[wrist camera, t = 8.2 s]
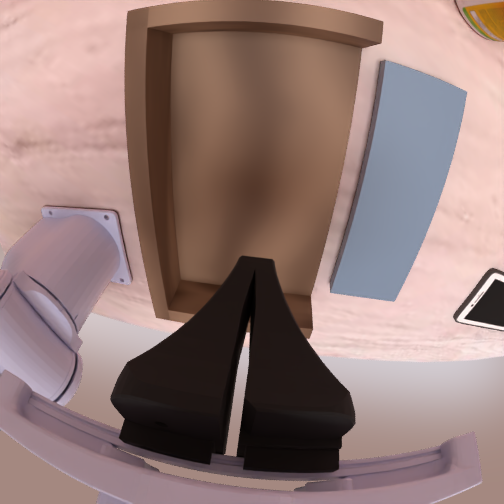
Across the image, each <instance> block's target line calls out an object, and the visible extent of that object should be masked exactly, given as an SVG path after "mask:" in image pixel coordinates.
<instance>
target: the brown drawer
mask: <svg viewBox="0 0 504 504" xmlns="http://www.w3.org/2000/svg"><path fill="white" fill-rule="evenodd" d="M382 32H383V22H382V21H379V20H376V19H372V18H369V17H365V16H362V15H358V14H354V13H350V12H345V11H341V10H336V9H331V8H326V7H320V6H314V5H308V4H300V3H292V2H283V1H271V0H200V1H188V2H179V3H171V4H163V5H157V6H151V7H145V8H140V9H135V10H131V11H128V13H127V25H126V42H125V116H126V134H127V148H128V159H129V170H130V179H131V187H132V195H133V203H134V210H135V216H136V223H137V229H138V235H139V241H140V246H141V252H142V257H143V262H144V267H145V272H146V277H147V281H148V286H149V290H150V295H151V299H152V303H153V307H154V311H155V315H156V318H160V319H166V320H171V321H177V322H182V323H186V322H187V321H189V320H190V319H191V318H192V317H193V316H194V315H195V314H196V313H197V312H198V311H199V310H200V309H201V308H202V307H203V306H204V305H205V304H206V303H207V302H208V301H209V300H210V298H211V297H212V296H213V295H214V294H215V293H216V291H217V290H218V289H219V288H220V286H221V285H222V284H223V282H224V281H225V280H226V278H227V277H228V276H229V274H230V273H231V271H232V270H233V268H234V266H235V265H236V263H237V261H238V259H239V257H241V256H242V255H243V256H251V257H260V258H268V259H273V260H274V261H275V267H276V272H277V276H278V279H279V283H280V286H281V288H282V291H283V294H284V296H285V299H286V301H287V304H288V306H289V308H290V310H291V312H292V314H293V316H294V318H295V320H296V322H297V324H298V326H299V328H300V329H301V331H302V333H303V334H304V336H305V338H307V339H309V338H310V336H311V333H312V330H313V321H312V305H311V294H312V290H313V287H314V283H315V280H316V276H317V273H318V269H319V265H320V262H321V258H322V254H323V250H324V247H325V243H326V239H327V235H328V231H329V227H330V223H331V219H332V214H333V210H334V206H335V202H336V197H337V193H338V188H339V184H340V179H341V174H342V170H343V165H344V160H345V155H346V149H347V144H348V139H349V133H350V128H351V122H352V116H353V110H354V104H355V97H356V91H357V84H358V76H359V69H360V61H361V52H362V48H365V47H369V46H373V45H377V44H381V43H382ZM246 332H249V333H250V319H249V323H248V327H247V331H246Z"/></svg>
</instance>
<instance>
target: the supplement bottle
mask: <svg viewBox="0 0 504 504" xmlns="http://www.w3.org/2000/svg"><path fill="white" fill-rule="evenodd" d="M456 3H457V6H458V8H459V10H460V12H461V14H462V16H463V17H464V19H465V20H466V21H467V23H468V24H469V25H470V26H471V27H472V28H473V29H474V30H475V31H476V32H477V33H478V34H479V35H481V36H482V37H484V38H486V39H489V40H492V41H502V42H504V0H456Z"/></svg>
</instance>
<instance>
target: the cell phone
mask: <svg viewBox="0 0 504 504" xmlns="http://www.w3.org/2000/svg"><path fill="white" fill-rule="evenodd" d="M453 317H454V320H455V321H456V322H458V323H461V324H466V325H472V324H473V325H472V326H477V327H482V328H488V329H493V330H499V331H504V272H502V271H500V270H498V269H494V268H491V269H489V270H488V271H487V272H486V273H485V275H484V276H483V277H482V279H481V280H480V281H479V283H478V284H477V285H476V287H475V288H474V289H473V291H472V292H471V293H470V295H469V296H468V297H467V298H466V300H465V301H464V302H463V303H462V305H461V306H460V307H459V308H458V310H457V311H456V312H455V314H454V316H453ZM467 323H468V324H467Z"/></svg>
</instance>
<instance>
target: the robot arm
mask: <svg viewBox="0 0 504 504" xmlns="http://www.w3.org/2000/svg"><path fill="white" fill-rule="evenodd" d="M41 213H42V216H43V218H42V219H41V220H40V221H38V222H37V223H36V224H35V225H34V226H33V227H32V228H31V229H30V230H29V231H28V232H27V233H25V234H24V235H23V236H22V237H21V238H20V239H19V240H18V241H17V242H16V243H15V244H14V245H13V246H12V247H11V248H10V250H9V251H8V252H7V254H6V256H5V258H4V260H3V263H2V267H1V269H0V431H1V430H2V431H4V432H5V433H6V434H8V435H9V436H10V437H11V438H13V439H14V440H16V441H17V442H18V443H19V444H21V445H22V446H24V447H25V448H26V449H27V450H29V451H30V452H32V453H33V454H35V455H36V456H38V457H39V458H41V459H42V460H44V461H46V462H47V463H48V464H50V465H52V466H53V467H55V468H57V469H58V470H60V471H62V472H63V473H65V474H67V475H69V476H70V477H72V478H74V479H76V480H78V481H80V482H82V483H84V484H86V485H88V486H90V487H92V488H94V489H96V490H98V491H99V494H98V498H97V502H96V504H434V503H436V502H438V501H441V500H444V499H446V498H449V497H451V496H453V495H456V494H459V493H461V492H463V491H465V490H468V489H470V488H472V487H474V486H476V485H478V484H481V483H482V474H481V466H480V459H479V453H478V447H477V441H476V437H475V432H470V433H466V434H463V435H460V436H457V437H454V438H451V439H449V440H447V441H445V442H444V443H442V444H441V445H440V446H436V447H431V448H428V449H423V450H418V451H413V452H408V453H402V454H396V455H390V456H383V457H375V458H366V459H356V460H341V461H339V449H341V447H342V436H343V435H345V434H346V433H347V432H348V431H349V430H350V429H351V428H352V427H353V426H354V425H355V411H354V406H353V402H352V398H351V395H350V392H349V391H348V390H347V389H346V388H345V387H344V386H343V385H342V384H341V383H340V382H339V381H338V379H336V377H335V376H334V375H333V374H332V373H331V372H330V370H329V369H328V368H327V367H326V366H325V364H324V363H323V362H322V360H321V359H320V358H319V356H318V355H317V354H316V352H315V351H314V350H313V348H312V347H311V345H310V344H309V342H308V341H307V339H306V338H305V336H304V334H303V333H302V331H301V329H300V328H299V326H298V324H297V322H296V320H295V318H294V316H293V314H292V312H291V310H290V308H289V306H288V304H287V301H286V299H285V296H284V294H283V291H282V288H281V286H280V283H279V279H278V276H277V272H276V267H275V261H274V260H273V259H268V258H260V257H251V256H243V255H242V256H241V257H239V259H238V261H237V263H236V265H235V266H234V268H233V270H232V271H231V273H230V274H229V276H228V277H227V278H226V280H225V281H224V282H223V284H222V285H221V286H220V288H219V289H218V290H217V291H216V293H215V294H214V295H213V296H212V297H211V298H210V300H209V301H208V302H207V303H206V304H205V305H204V306H203V307H202V308H201V309H200V310H199V311H198V312H197V313H196V314H195V315H194V316H193V317H192V318H191V319H190V320H189V321H187V322H186V323H185V324H184V325H183V326H182V327H180V328H179V329H178V330H177V331H176V332H174V333H173V334H172V335H170V336H169V337H167V338H166V339H164V340H163V341H162V342H160V343H159V344H157V345H156V346H154V347H153V348H151V349H150V350H148V351H146V352H145V353H143V354H141V355H139V356H137V357H136V358H134V359H132V360H130V361H129V362H127V364H126V366H125V367H124V369H123V370H122V372H121V374H120V376H119V377H118V379H117V382H116V384H115V387H114V389H113V392H112V395H111V402H112V404H113V405H114V407H115V408H116V409H117V410H118V412H119V413H120V414H121V415H122V416H123V417H124V418H125V420H124V423H123V426H122V429H121V430H120V429H116V428H114V427H111V426H108V425H106V424H103V423H101V422H98V421H95V420H93V419H90V418H88V417H86V416H83V415H81V414H79V413H77V412H74V411H72V410H70V409H68V408H66V407H64V406H65V405H66V404H67V403H68V402H69V401H70V399H72V397H73V396H74V394H75V393H76V391H77V389H78V387H79V384H80V381H81V377H82V370H83V362H82V358H81V356H80V354H79V353H78V350H79V348H80V346H81V344H82V340H81V339H80V338H79V337H78V332H79V331H80V329H81V328H82V326H83V324H84V322H85V321H86V319H87V317H88V316H89V314H90V312H91V311H92V309H93V307H94V306H95V304H96V303H97V301H98V299H99V298H100V296H101V294H102V293H103V291H104V290H105V288H106V287H107V285H108V284H109V282H110V281H111V282H116V283H121V284H126V285H129V284H131V282H132V278H131V274H130V270H129V266H128V262H127V258H126V253H125V249H124V244H123V239H122V235H121V230H120V225H119V219H118V215H117V213H116V212H114V211H109V210H96V209H81V208H65V207H48V206H44V207H43V208H42V209H41ZM106 215H107V216H108V217H109V218H108V217H107V216H106ZM249 319H250V346H249V367H248V375H247V382H246V389H245V397H244V404H243V412H242V420H241V427H240V434H239V441H238V448H237V456H236V457H234V456H227V455H224V454H225V452H226V444H227V437H228V430H229V423H230V417H231V409H232V403H233V396H234V389H235V382H236V376H237V369H238V364H239V359H240V355H241V351H242V347H243V343H244V339H245V335H246V331H247V327H248V323H249ZM117 448H118V449H117ZM119 449H121V450H124V451H127V452H130V453H133V454H136V455H139V456H142V457H145V458H148V459H152V460H155V461H159V462H163V463H166V464H170V465H174V466H179V467H184V468H188V469H193V470H197V471H203V472H208V473H214V474H221V475H227V476H234V477H243V478H253V479H266V480H285V481H287V480H288V481H318V480H327V481H319V482H308V483H307V484H305V486H304V487H300V488H296V489H294V491H280V490H267V489H256V488H246V487H238V486H230V485H223V484H216V483H211V482H204V481H198V480H194V479H189V478H184V477H179V476H174V475H170V474H165V473H162V472H160V471H159V470H158V469H157V468H154V467H152V466H150V465H149V464H147V463H146V462H145V461H144V459H141V458H138V457H136V456H133V455H131V454H128V453H126V452H124V451H121V450H119Z"/></svg>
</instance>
